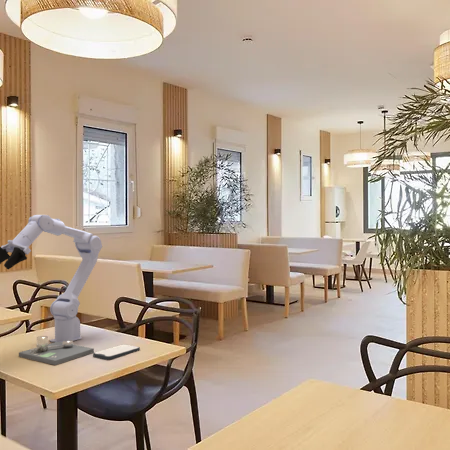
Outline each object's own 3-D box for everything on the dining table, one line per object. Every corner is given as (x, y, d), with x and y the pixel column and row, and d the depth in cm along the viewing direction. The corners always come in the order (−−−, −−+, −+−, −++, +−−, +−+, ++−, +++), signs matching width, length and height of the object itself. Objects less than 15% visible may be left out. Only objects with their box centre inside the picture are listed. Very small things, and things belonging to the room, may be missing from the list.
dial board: (58, 345, 186) (58, 341, 186) (93, 352, 176) (93, 348, 176) (18, 356, 171) (18, 352, 171) (55, 365, 161) (55, 360, 161)
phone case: (124, 348, 185) (91, 357, 171) (124, 343, 185) (91, 352, 171) (141, 351, 180) (108, 361, 166) (141, 347, 180) (109, 357, 166)
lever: (71, 344, 180) (71, 331, 180) (74, 346, 177) (74, 333, 177) (29, 350, 172) (29, 337, 172) (32, 353, 169) (32, 339, 169)
